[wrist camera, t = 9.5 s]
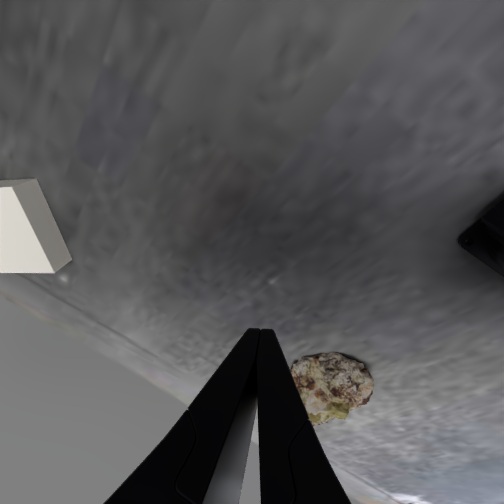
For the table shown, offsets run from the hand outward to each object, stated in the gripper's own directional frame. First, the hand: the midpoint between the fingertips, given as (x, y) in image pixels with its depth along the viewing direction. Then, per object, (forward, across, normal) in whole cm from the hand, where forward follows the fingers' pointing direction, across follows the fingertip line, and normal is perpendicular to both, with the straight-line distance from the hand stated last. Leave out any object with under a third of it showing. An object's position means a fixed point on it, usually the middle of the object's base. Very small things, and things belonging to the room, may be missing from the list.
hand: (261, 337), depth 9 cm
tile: (+11, +18, +1) cm, 21 cm away
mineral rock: (+12, -4, +18) cm, 23 cm away
